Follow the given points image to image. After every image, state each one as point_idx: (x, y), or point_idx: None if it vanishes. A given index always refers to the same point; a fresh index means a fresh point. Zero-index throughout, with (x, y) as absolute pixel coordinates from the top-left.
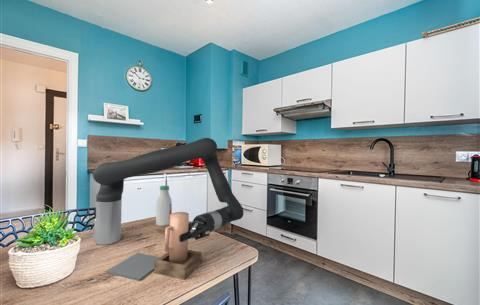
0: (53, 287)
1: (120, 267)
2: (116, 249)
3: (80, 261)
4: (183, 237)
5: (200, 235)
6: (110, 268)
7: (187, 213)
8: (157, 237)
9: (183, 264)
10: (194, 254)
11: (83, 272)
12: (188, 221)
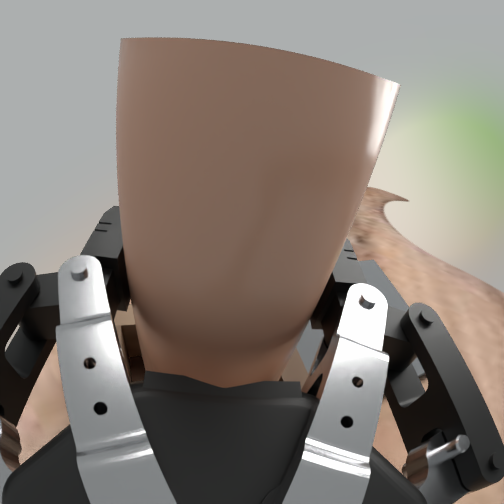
0: (369, 210)
1: (370, 283)
2: (493, 338)
3: (455, 267)
4: (113, 212)
5: (18, 374)
6: (380, 269)
7: (192, 39)
8: None
9: (120, 327)
10: None
11: (401, 248)
12: (123, 161)
